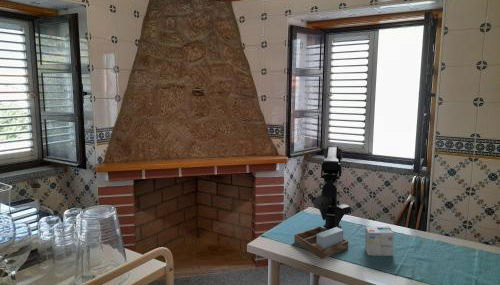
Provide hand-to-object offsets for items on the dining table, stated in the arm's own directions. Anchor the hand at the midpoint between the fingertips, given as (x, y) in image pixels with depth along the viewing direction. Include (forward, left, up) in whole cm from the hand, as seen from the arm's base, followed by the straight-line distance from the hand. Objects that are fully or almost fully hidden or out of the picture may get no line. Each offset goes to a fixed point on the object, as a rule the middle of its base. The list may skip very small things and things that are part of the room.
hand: (330, 223), depth 155 cm
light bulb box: (-16, +13, -13) cm, 25 cm away
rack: (0, -6, -13) cm, 14 cm away
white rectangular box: (0, 0, -12) cm, 12 cm away
